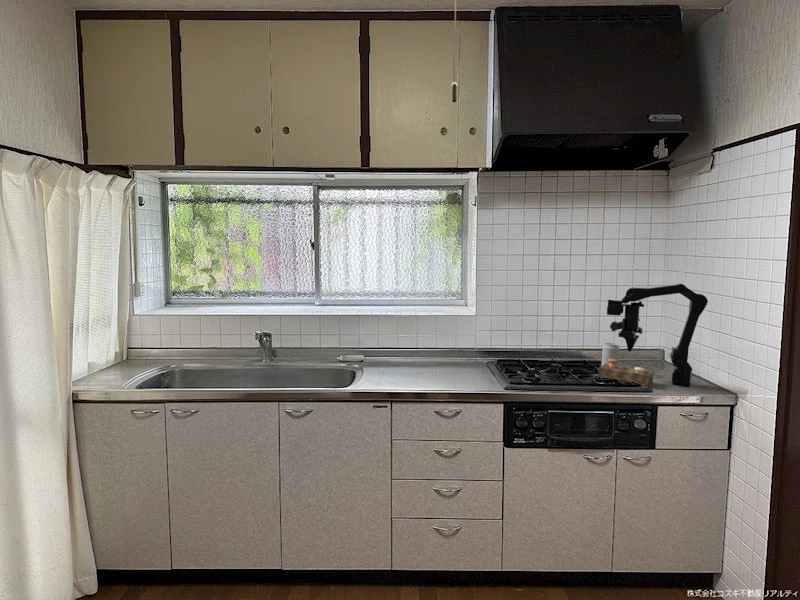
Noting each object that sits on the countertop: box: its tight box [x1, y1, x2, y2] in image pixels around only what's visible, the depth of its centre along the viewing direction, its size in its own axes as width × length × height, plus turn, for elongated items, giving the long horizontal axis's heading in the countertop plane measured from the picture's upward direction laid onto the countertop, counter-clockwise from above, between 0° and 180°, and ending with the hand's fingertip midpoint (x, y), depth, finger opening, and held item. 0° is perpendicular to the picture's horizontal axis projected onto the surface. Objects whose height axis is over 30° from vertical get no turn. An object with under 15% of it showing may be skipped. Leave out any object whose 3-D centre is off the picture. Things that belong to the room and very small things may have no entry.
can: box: [600, 342, 621, 367], centre depth 246 cm, size 8×8×12 cm
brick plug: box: [608, 359, 620, 369], centre depth 226 cm, size 4×4×6 cm
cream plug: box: [634, 366, 646, 374], centre depth 220 cm, size 4×4×6 cm
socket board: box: [597, 364, 655, 389], centre depth 223 cm, size 20×10×5 cm, turn 53°
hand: (629, 351), depth 228 cm, fingers closed
